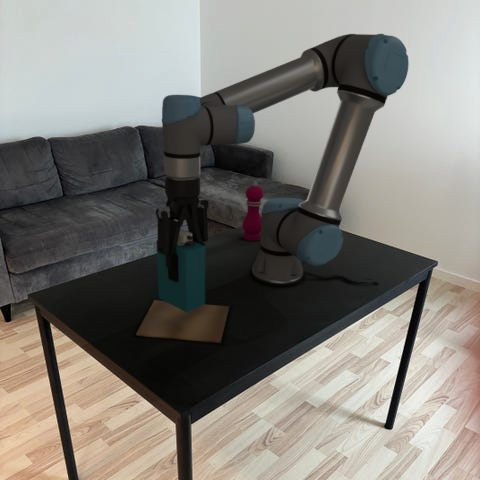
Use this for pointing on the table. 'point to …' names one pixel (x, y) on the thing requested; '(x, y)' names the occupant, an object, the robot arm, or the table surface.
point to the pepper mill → (253, 213)
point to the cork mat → (184, 322)
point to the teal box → (184, 275)
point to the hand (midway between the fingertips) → (184, 275)
